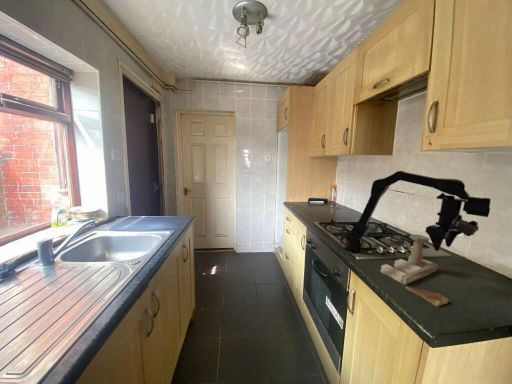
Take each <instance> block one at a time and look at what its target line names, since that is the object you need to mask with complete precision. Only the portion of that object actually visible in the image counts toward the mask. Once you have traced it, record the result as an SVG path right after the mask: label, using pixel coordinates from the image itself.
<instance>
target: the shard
mask: <svg viewBox="0 0 512 384" xmlns="http://www.w3.org/2000/svg"><path fill="white" fill-rule="evenodd" d="M404 286H405V289H406V290H407V291H409V292H411V293H414V294H415V295H417V296H419V297H421V298H422V299H423V300H425V301H426V302H428V303H430V304H431V305H433V306H435V307H439V306H442V305H446V304H448V302H450V300H449V298H447V297H445V296H444V295H442V294H440V293H439V292H436V291H433V290H429V289H423V288H419V287H414V286H409V285H404Z"/></svg>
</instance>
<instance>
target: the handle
mask: <svg viewBox="0 0 512 384" xmlns="http://www.w3.org/2000/svg"><path fill="white" fill-rule="evenodd" d="M409 237H410V239H411V240H412V241H413V243H412V244H413V246H412V249H411V252H410V256H411V257H410V263H412V264H414V265H416V266H420V263H421V260H422V259H423V249H424V243H428V242H429V241H430V237H429V236H424V235H421V234H415V233H414V234H413V233H412V234H410V236H409Z"/></svg>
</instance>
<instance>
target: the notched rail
mask: <svg viewBox="0 0 512 384" xmlns="http://www.w3.org/2000/svg"><path fill="white" fill-rule="evenodd" d="M410 257H411V255H409V256H408V260H404V259H402V258H399V259H397V260H395V261H394V266H391V265H389V264H387V263H386V264H382V265H381V268H380V273H381V274H383V275H386V276H387V277H389V278H391V279H393V280H395V281H396V282H398V283H400V284H403V285H404V286H407V285H408V284H410V283H412V282H414V281H415V282H416V281H417V280H419V279H422V278H424V277H427V276H429V275H430V274H433V273H434V272H437V270H438V264H437V263H435V262H432V261H429V260H427V259H424V258H422V260H421V263H420V266H416V265H414V264H412V263H410Z"/></svg>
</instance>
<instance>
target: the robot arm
mask: <svg viewBox="0 0 512 384" xmlns="http://www.w3.org/2000/svg"><path fill="white" fill-rule="evenodd" d="M400 181H401V182H407V183H412V184H415V185H419V186H425V187H428V188H432V189H435V190H438V191H439V192H441V193H440V194H439V195H436V197H435V199H438V200H441V204H440V205H441V206H440V210H439V211H438V212H437V214H436V215H437V216H438V219H437V221H436V222H435V224H432V225H431V224H430V225H429V226H426V227H425V231H424V232H425V233H426V234H427V235H428V238H429V240H430V241H431V244H432V246H433V249H434V251H437V252H439V250H440V248H441V247H442V244H443V241H445V247H448V248H450V247H451V246H452V244H453V243H454V241H455V239H456V238H457V236H458V235H461V234H463V235H465V236H466V237H471V236H474V235H475V234H476V232H478V231H479V225H478V222H477V221H475V220H471V221H467V220H464V219H463V216H462V214H460V212H461V209H462V211H463V212H464V213H466V215H470V216H478V217H483V218H488V217H489V215H490V211H491V208H490V207H491V201H492V200H491V198H490V197H476V196H470V194H469V193H468V191H466V184H465V183H464V181H463V180H461V179H456V178H442V177H441V178H437V177H432V176H428V175H427V176H426V175H422V174H416V173H412V172H406V171H403V170H399V171H395V172H394V173H393V174H390V175H389V176H386V177H383V178H378V179H375V180H374V181H373V182H372V183H371V189H370V196H369V198H368V201H367V203H366V205H365V207H364V209H363V211H362V213H361V216H360V217H359V220H358V221H357V222H356V223H355V224H354V226H353V227H352V228H351V230H350V232H349V233H347V234H346V235H345V242H346V243H345V246H344V247H343V249H344V250H346V251H347V252H350V253H352V254H356V253H359V252H362V240H361V239H362V238H363V237H364V238H365V237H366V236H367V235H369V230H370V229H371V226H369V222H370V220H371V218H372V216H373V214H374V213H375V210H376V208H377V205H378V203H379V202H380V199H381V198H382V197H383V196H384V194H385V193H386V192H387V191H388V190H389V188H390V186H392V185H393V184H395V183H398V182H400ZM455 197H456V198H455ZM457 197H458V198H457ZM462 203H463V207H462Z"/></svg>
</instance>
